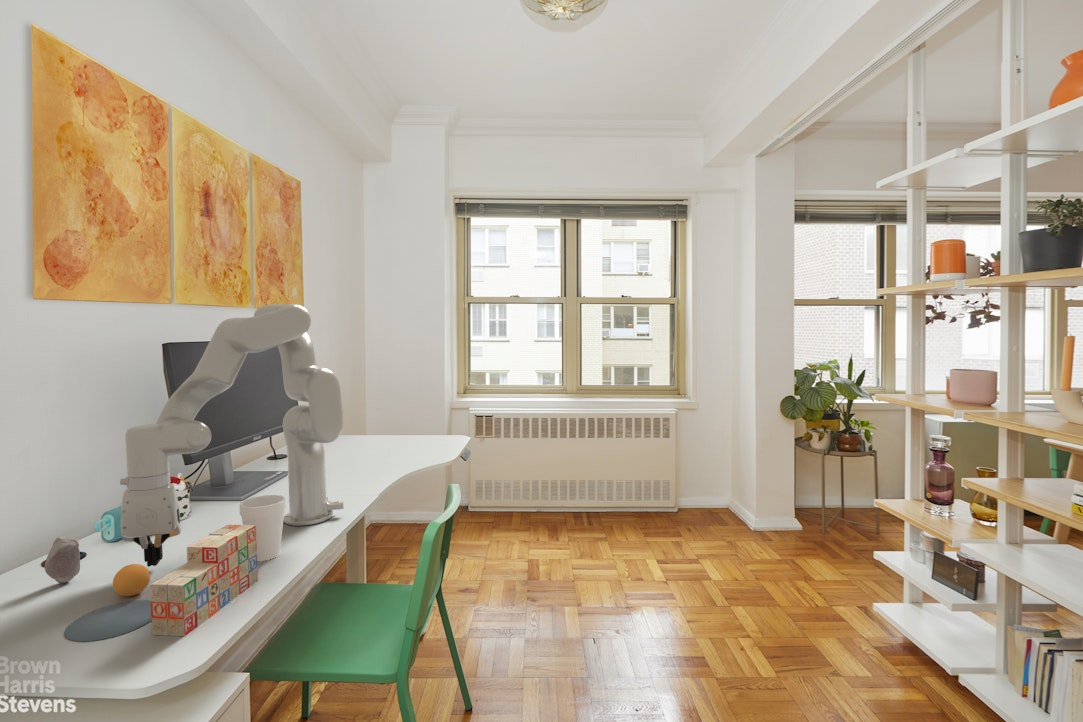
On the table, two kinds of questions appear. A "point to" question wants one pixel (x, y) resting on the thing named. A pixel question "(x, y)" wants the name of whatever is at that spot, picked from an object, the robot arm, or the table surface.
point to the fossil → (63, 560)
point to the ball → (131, 580)
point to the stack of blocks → (205, 580)
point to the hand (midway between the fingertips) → (153, 563)
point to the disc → (110, 621)
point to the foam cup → (265, 523)
